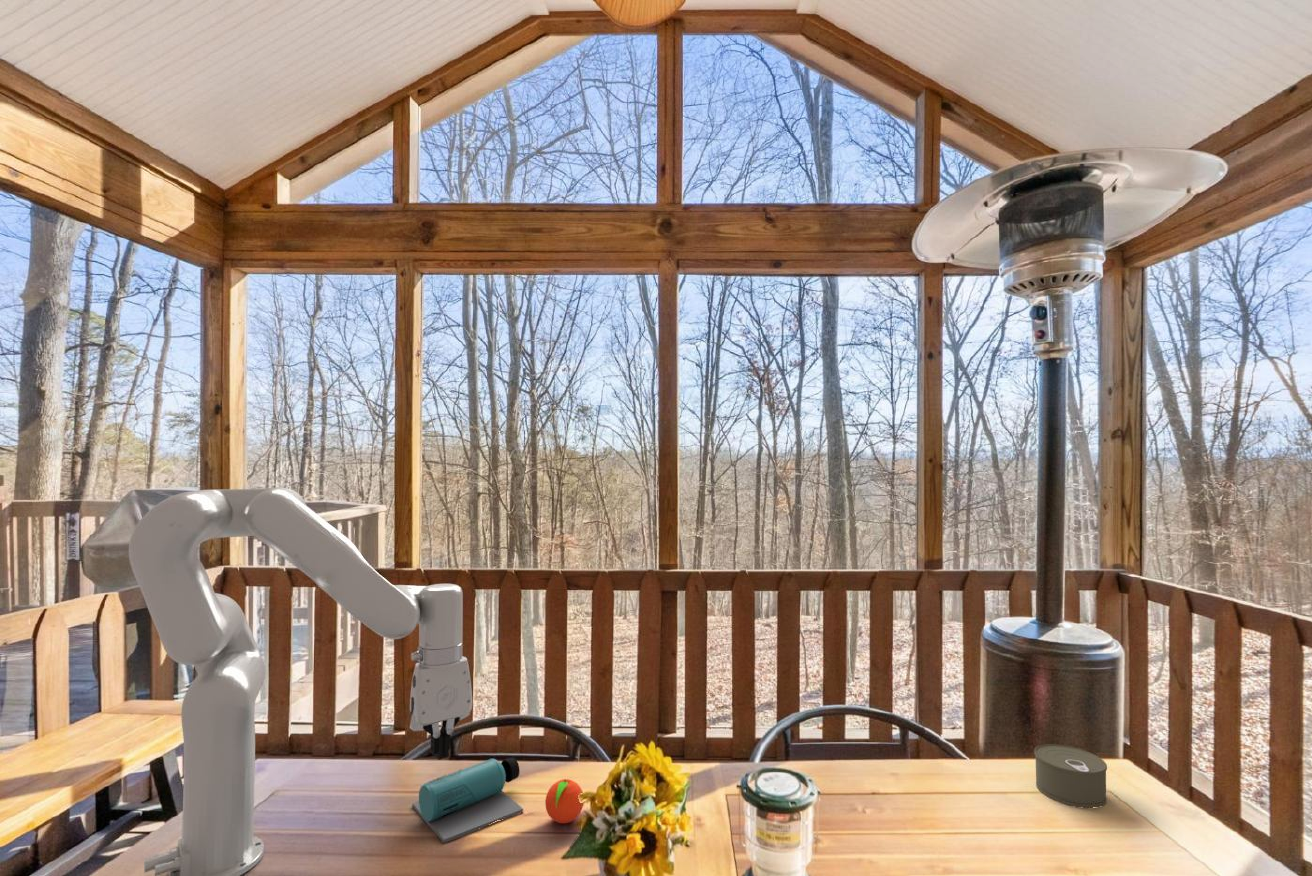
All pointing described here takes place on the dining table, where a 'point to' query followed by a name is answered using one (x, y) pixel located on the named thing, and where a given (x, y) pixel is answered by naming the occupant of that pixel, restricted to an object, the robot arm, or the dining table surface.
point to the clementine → (564, 801)
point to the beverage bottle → (465, 787)
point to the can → (1070, 775)
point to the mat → (472, 816)
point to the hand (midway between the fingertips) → (440, 755)
